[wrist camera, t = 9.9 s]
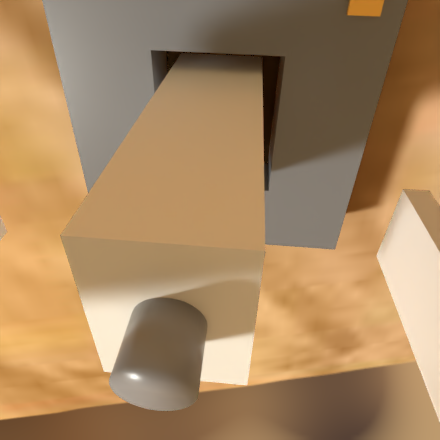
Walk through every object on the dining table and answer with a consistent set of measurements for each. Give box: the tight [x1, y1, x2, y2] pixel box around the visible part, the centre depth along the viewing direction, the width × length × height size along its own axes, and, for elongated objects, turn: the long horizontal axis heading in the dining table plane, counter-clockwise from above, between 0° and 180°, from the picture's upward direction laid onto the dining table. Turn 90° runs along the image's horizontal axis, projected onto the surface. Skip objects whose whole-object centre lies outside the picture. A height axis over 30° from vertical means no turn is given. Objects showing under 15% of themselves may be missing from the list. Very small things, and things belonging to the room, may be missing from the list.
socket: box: [42, 0, 408, 249], centre depth 18 cm, size 14×14×3 cm
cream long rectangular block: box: [60, 53, 265, 411], centre depth 13 cm, size 4×5×16 cm
